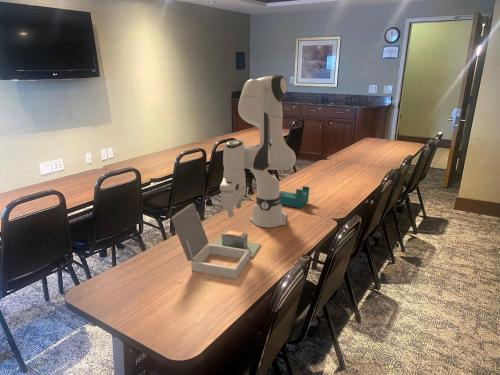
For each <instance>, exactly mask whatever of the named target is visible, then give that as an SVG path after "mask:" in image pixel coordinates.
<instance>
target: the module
mask: <svg viewBox="0 0 500 375" xmlns="http://www.w3.org/2000/svg"><path fill="white" fill-rule="evenodd" d="M221 238H222V246H226V247H233V248H239V249H245V248H246V247H247V242H248V233H246V232H242V231H234V230H228V229H226V230H225V231H224V232H222V233H221Z"/></svg>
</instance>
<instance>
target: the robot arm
mask: <svg viewBox="0 0 500 375" xmlns="http://www.w3.org/2000/svg"><path fill="white" fill-rule="evenodd" d="M287 91H288V81H287V79H286V78H285V77H284V76H283V75H281V74H274V75H267V76H262V77H258V78H251V79H248V80H247V81H246V82H245V83H244V85H243V86H242V91H241V94H240V97H239V101H238V106H237V112H238V115H239V117H241V118H240V119H242V120H243V121H245V123H246V122H247V124H250V125H253V126H254V127H256V128H258V129H259V130H258V131H259V132H258V133H259V144H258V145H256V146H255V145H245V144H244V142H243V141H241V140H237V139H233V140H228V141H226V142H225V143H224V147H223V155H222V163H223V164H222V165H223V168H224V169H223V178H222V181H221V183H220V185H219V191H220V202H221V209H222V210H224V211H226V212H227V214H228V215H227V216H228V217H229V218H233V217H234V211H233V210H234V207H235V208H236V209H241V208H242V202H243V198H244V197H245V196H246V194H247V182H246V170H245V169H248V170H249V171H250V172H251V173H252V174H253V176H254V178H255V181H256V197H255V204H254V205H252V206H253V208H252V216H251V217H250V218H249V221H250V222H252V223H253V224H254V226H255V225H256V226H258V227H261V228H267V229H268V228H276V227H280V226H286V224H287V213H286V212H284V211H283V205H282V204H281V203H280V194H279V192H280V185H281V184H280V180H279V179H278V178H277V177H276V176H274V175H272V174H270V173H269V171H270V170H271V171H272V170H273V171H274V170H276V171H283V170H284V171H285V170H291V169H292V168H294V166H295V165H296V162H297V156H296V153H295V151H294V150H293V149H292V148H291V147H290V146H289V145H288V144H287V142H286V141H285V138H284V133H283V121H284V120H283V119H284V116H283V103H282V101H284V98H285V97H286V95H287ZM268 170H269V171H268Z"/></svg>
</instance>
